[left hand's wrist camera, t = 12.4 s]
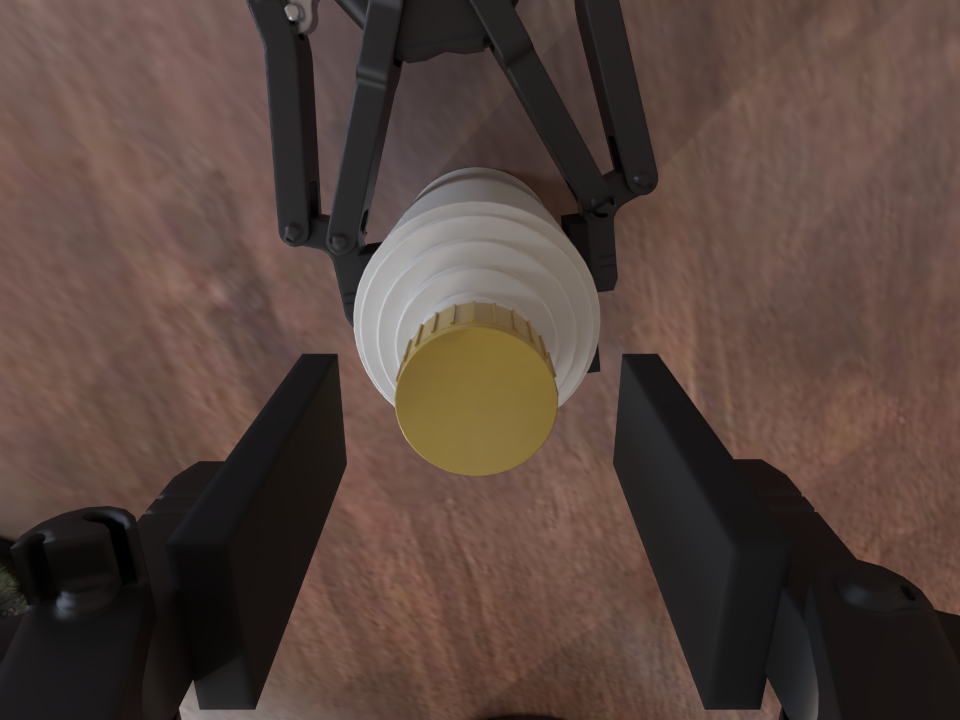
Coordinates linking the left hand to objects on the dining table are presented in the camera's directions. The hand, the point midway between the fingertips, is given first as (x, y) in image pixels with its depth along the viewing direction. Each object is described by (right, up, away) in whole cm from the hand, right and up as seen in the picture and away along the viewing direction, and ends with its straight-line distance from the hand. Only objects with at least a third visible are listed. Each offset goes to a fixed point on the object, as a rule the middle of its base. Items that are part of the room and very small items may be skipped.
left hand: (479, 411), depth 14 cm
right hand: (+1, 0, +15) cm, 15 cm away
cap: (0, 0, +1) cm, 1 cm away
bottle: (0, +7, +20) cm, 21 cm away
